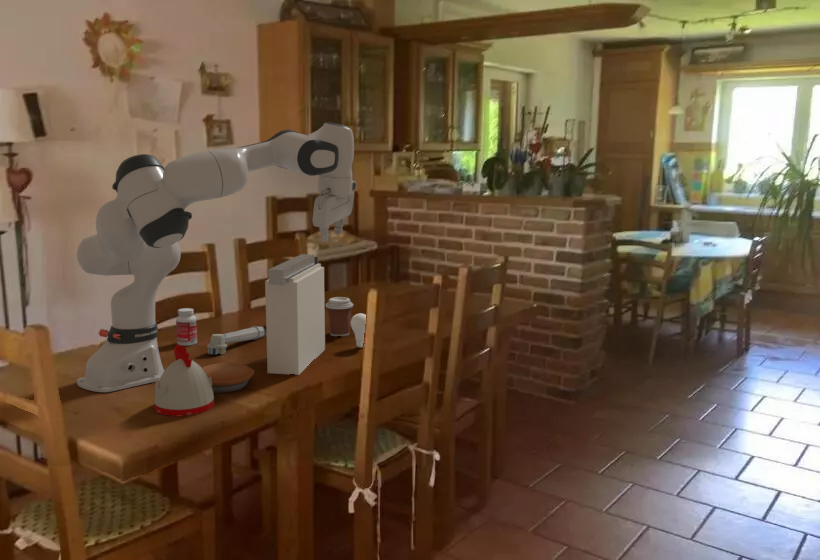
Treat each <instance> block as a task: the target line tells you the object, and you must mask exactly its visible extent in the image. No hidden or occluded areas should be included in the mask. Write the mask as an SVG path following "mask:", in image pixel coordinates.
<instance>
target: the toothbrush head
mask: <svg viewBox="0 0 820 560" xmlns="http://www.w3.org/2000/svg"><path fill="white" fill-rule="evenodd" d="M265 336H266V328H264V327H263V326H258V325H257V326H254V325H251V326H250V327H248V328H243V329H240V330H236V331H232V332H231V331H230V332H228V333H227V332H226V333H223V334H222V333H213V334H212V335H211V336H210V343H207V346H206V347H207V348H208V351H207V354H208V355H213V356H214V355H215V356H216V355H218V354H219V355H225V354H226V353H227V352H226V351H227V347H228V344H233V343H239V342H246V341H250V340H252V341H253V340H255V341H257V340H258V339H261V338H264V337H265Z"/></svg>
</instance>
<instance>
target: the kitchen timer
mask: <svg viewBox="0 0 820 560" xmlns="http://www.w3.org/2000/svg"><path fill="white" fill-rule="evenodd" d="M173 352H174V358H175V360H174V361H173V362H172V363H170V364H169V365H168V366H166V368H165V369H164V372H163V374H162V376H161V378H160V380H159V381H156V382H154V384H155V385H154V402H153V403H154V411H155V413H157V412H158V414H159V413H160V415H162V414H164V415H163V416H166V415H174V416H173V417H180V416H179V415H189V416H192V415H191V414H195V415H197V414H196V413H199V414H202V413H205V412H207V410H208V411H210V410H211V409H212V408H213V407H214V406H215V395H214V392H213V390H212V387H211V386H212V381H211V377H209V378H208V377H207V375H206V373H205V372H204V370H203V369H202V368H203V367H201V366H200V365H199V364H198V363H197V362H196V361H194V360H193V359H192V358H190V352H187V347H186V346H182V345H180V344H179V345H178V344H176V345H175V347H174V348H173ZM210 408H211V409H210ZM204 411H205V412H204ZM201 412H202V413H201ZM177 415H178V416H177Z"/></svg>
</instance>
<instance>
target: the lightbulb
mask: <svg viewBox="0 0 820 560" xmlns="http://www.w3.org/2000/svg"><path fill="white" fill-rule="evenodd" d="M366 315H367V314H365V313H361V312H360V313H359V312H358V313H357V314H355V315H353V316H352V317H351V318H350V327H351V329H352V331H353V334H354V337H355V338H354V339H355V343H356V344H355V345H356V346H357V347H358V348H360V349H361V348H363V347H364V346H363V343H364V333H365V324H366Z"/></svg>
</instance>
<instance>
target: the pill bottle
mask: <svg viewBox="0 0 820 560" xmlns="http://www.w3.org/2000/svg"><path fill="white" fill-rule="evenodd" d="M177 314H178V316H177V318H176V319H175V324H176V325H175V328H176V343H177V344H176V345H179V344H180V346H183V347H186V346H187V347H188V346H194V345H196V344H197V343H198V329H197V326H198V325H197V317H196V315H194V308H189V307H186V308H185V307H184V308H179V309H177Z"/></svg>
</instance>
